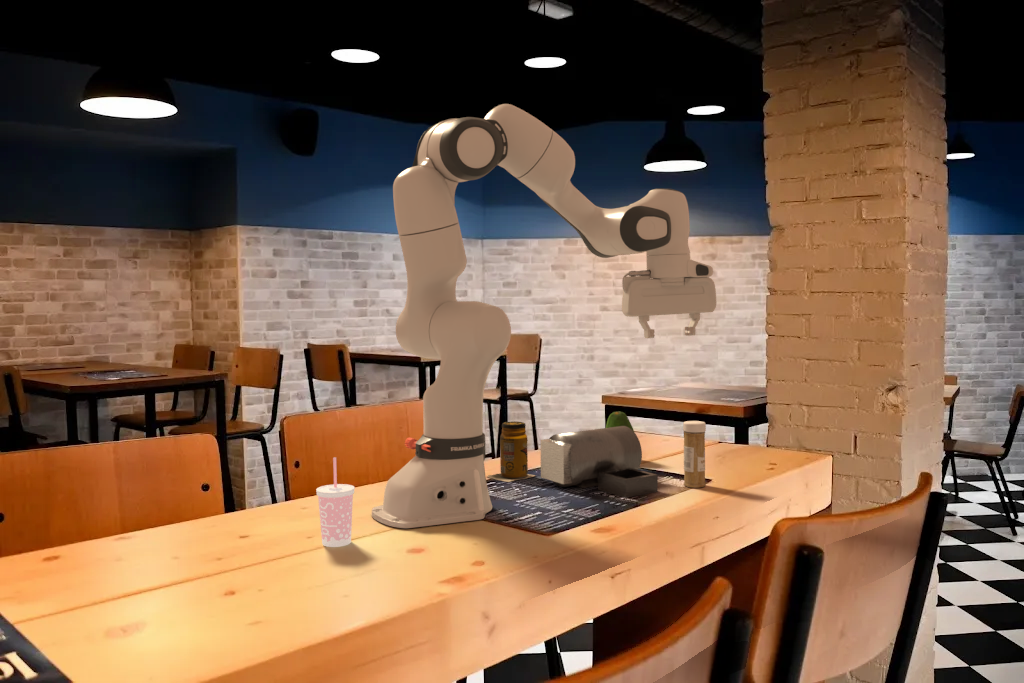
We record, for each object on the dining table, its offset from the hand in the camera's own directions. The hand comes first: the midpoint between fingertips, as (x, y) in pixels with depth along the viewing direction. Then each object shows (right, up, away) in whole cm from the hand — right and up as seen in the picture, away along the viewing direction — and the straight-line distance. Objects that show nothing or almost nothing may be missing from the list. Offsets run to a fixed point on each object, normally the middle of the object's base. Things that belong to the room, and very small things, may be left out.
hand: (670, 336), depth 169 cm
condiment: (-33, -31, +12) cm, 47 cm away
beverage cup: (-61, -34, -35) cm, 78 cm away
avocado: (-6, -30, +29) cm, 42 cm away
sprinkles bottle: (+5, -31, +2) cm, 32 cm away
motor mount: (-12, -31, +3) cm, 34 cm away
